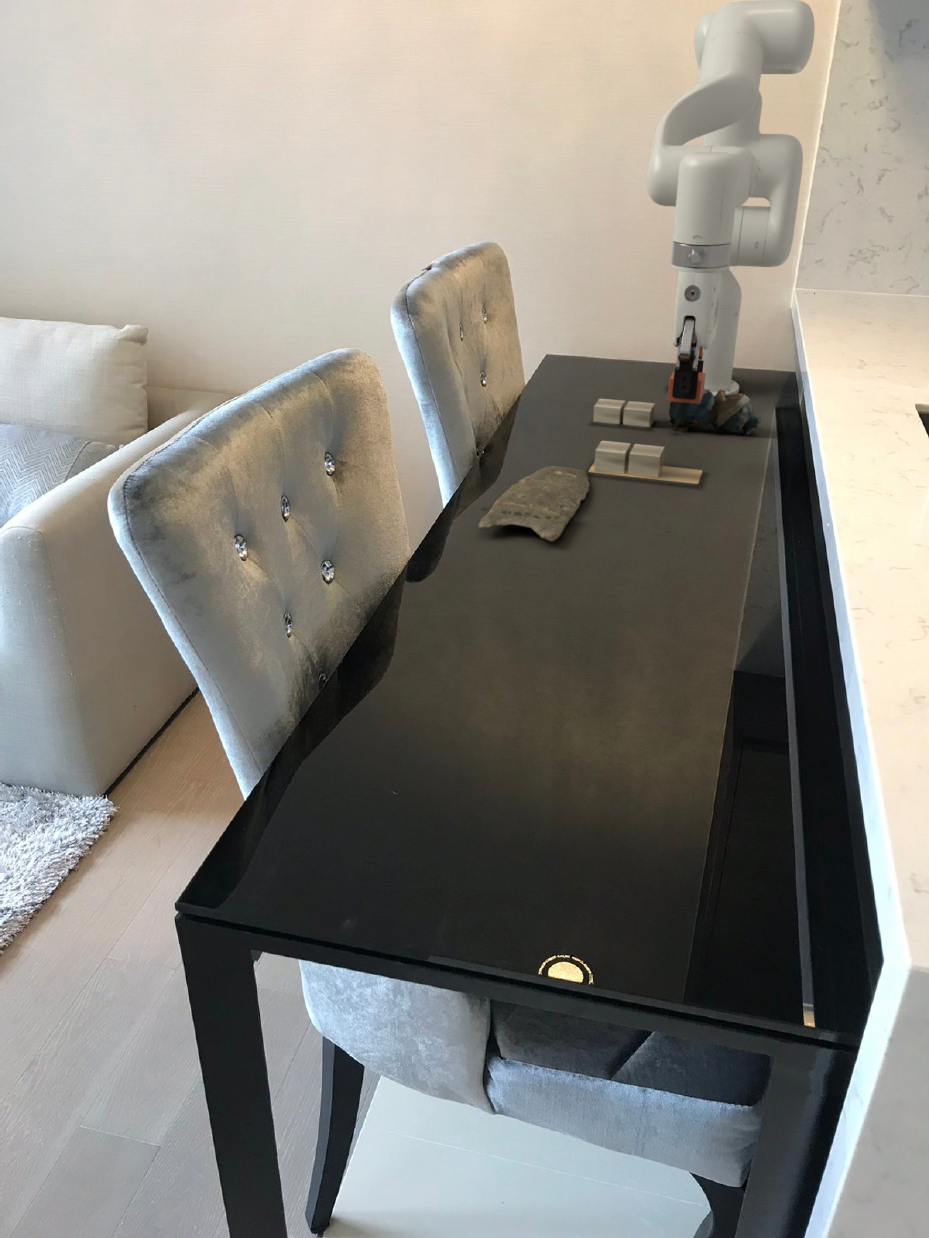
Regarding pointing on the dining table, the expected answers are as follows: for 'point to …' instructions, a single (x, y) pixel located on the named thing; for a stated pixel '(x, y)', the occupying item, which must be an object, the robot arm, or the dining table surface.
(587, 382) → the dining table surface
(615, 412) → the beige grey short block
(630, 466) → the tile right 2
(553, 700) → the dining table surface
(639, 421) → the pale grey block
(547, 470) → the stone tool
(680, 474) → the board
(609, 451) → the pale grey block
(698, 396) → the orange block
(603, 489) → the dining table surface
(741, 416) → the blue brown rough lump
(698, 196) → the robot arm
